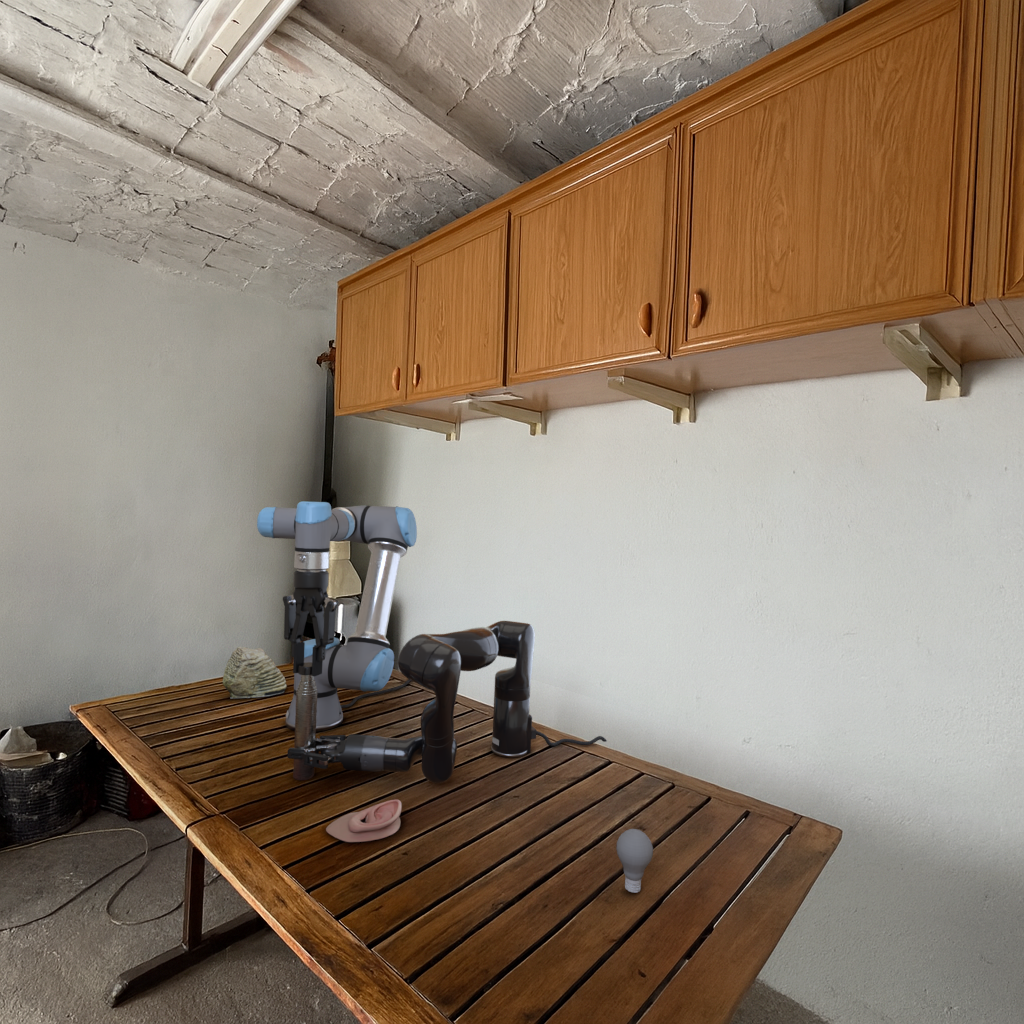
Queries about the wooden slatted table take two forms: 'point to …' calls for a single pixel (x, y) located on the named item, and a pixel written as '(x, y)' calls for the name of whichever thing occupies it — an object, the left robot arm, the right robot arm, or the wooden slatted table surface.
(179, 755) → the wooden slatted table surface
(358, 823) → the anatomical model
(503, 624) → the right robot arm
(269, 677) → the fossil
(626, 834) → the light bulb
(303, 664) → the cap
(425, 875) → the wooden slatted table surface
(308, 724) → the bottle
